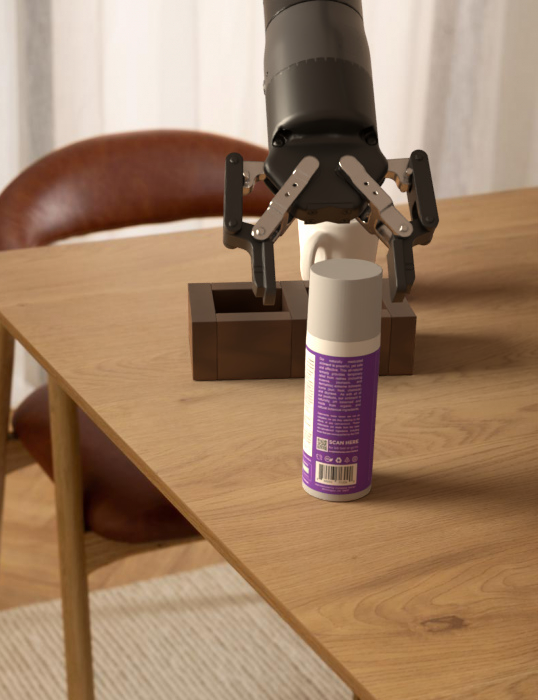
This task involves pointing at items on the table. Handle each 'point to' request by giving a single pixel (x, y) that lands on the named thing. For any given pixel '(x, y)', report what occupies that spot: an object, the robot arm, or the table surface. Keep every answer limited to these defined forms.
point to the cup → (334, 243)
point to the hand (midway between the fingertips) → (335, 299)
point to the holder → (276, 332)
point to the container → (341, 378)
